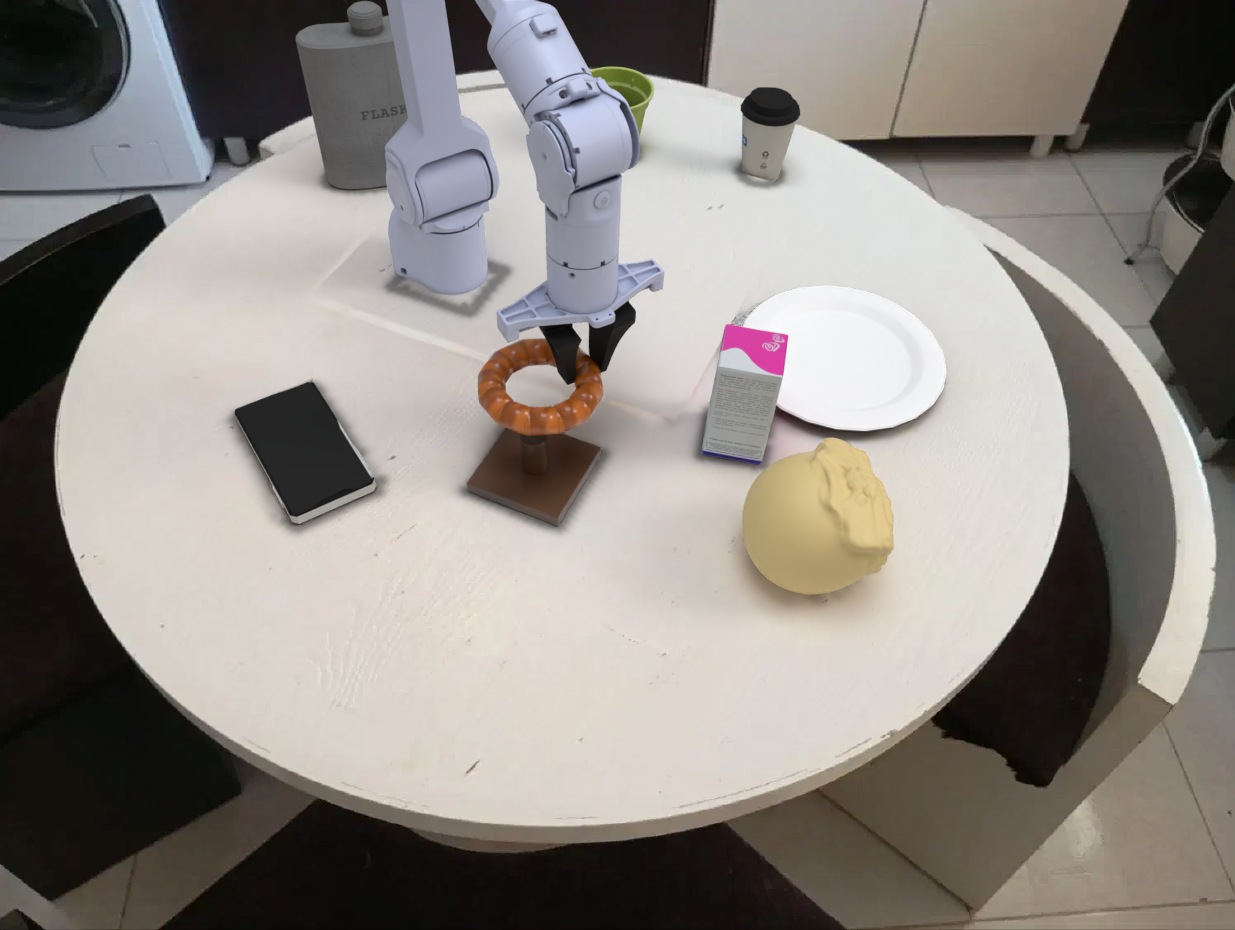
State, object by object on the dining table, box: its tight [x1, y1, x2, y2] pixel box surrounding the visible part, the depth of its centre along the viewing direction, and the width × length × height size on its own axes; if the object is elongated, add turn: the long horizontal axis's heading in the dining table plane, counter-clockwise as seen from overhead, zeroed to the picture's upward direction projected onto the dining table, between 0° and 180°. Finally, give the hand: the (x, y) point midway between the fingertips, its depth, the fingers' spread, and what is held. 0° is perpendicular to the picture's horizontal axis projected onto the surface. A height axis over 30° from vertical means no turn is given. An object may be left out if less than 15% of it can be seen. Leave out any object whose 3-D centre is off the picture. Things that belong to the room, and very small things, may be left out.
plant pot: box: [589, 66, 655, 138], centre depth 120 cm, size 9×9×9 cm
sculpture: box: [741, 437, 895, 595], centre depth 81 cm, size 11×12×11 cm
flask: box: [295, 0, 408, 190], centre depth 111 cm, size 15×6×20 cm, turn 112°
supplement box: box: [700, 323, 788, 465], centre depth 89 cm, size 6×6×12 cm
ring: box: [477, 337, 604, 436], centre depth 86 cm, size 11×11×2 cm
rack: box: [466, 428, 602, 527], centre depth 88 cm, size 9×9×5 cm
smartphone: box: [234, 380, 377, 525], centre depth 90 cm, size 8×1×15 cm
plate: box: [741, 284, 948, 433], centre depth 100 cm, size 21×21×2 cm
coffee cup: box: [740, 86, 801, 183], centre depth 117 cm, size 7×7×10 cm
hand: (582, 371), depth 88 cm, fingers closed on ring, 3 cm apart
